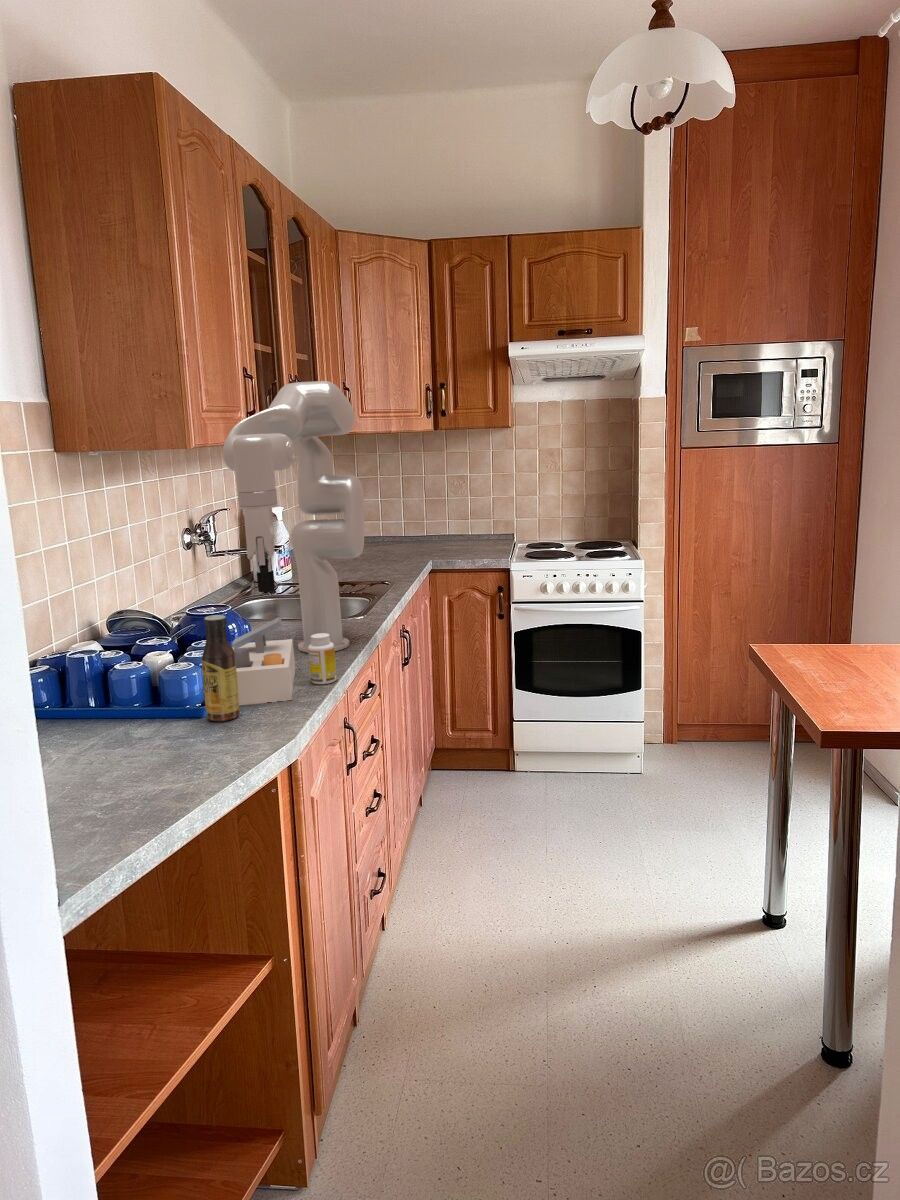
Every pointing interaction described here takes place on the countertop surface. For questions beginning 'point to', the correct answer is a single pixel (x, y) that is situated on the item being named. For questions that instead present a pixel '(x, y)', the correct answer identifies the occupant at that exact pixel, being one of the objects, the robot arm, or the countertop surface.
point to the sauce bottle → (219, 672)
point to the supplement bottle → (322, 659)
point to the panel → (266, 673)
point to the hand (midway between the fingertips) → (266, 590)
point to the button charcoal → (242, 657)
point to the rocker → (257, 633)
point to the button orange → (272, 659)
